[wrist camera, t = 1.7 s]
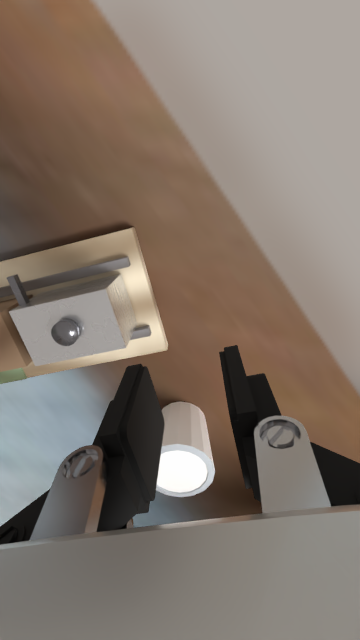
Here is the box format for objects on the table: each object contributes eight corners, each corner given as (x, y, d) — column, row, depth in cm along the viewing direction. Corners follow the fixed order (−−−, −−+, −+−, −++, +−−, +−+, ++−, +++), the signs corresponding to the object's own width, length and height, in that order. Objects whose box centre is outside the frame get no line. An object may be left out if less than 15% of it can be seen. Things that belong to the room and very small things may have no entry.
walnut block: (52, 340, 30) (26, 366, 25) (8, 350, 30) (-26, 377, 26) (32, 294, 28) (-1, 312, 23) (-15, 305, 28) (-56, 325, 24)
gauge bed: (168, 344, 30) (160, 384, 24) (-50, 388, 34) (-110, 434, 27) (134, 226, 26) (113, 235, 20) (-111, 290, 30) (-200, 316, 23)
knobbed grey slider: (137, 323, 28) (123, 352, 23) (60, 340, 29) (30, 371, 24) (112, 246, 25) (90, 259, 20) (29, 267, 27) (-13, 284, 21)
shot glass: (150, 397, 33) (139, 444, 27) (211, 396, 33) (215, 445, 26) (154, 443, 36) (145, 497, 29) (211, 444, 35) (215, 499, 29)
